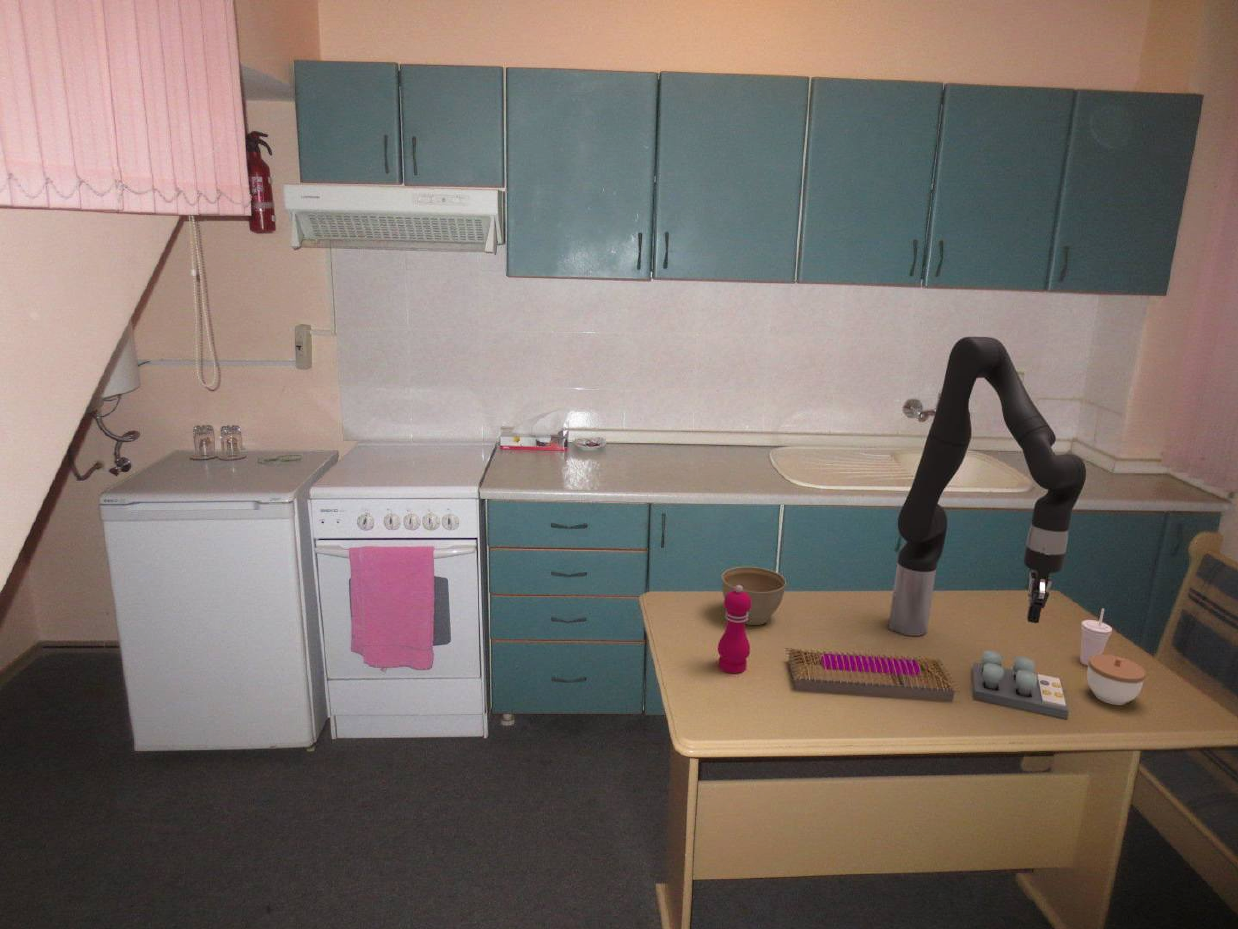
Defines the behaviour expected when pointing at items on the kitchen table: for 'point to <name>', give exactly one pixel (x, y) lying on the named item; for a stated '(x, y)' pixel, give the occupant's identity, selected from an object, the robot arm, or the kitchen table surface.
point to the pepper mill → (735, 632)
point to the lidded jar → (1114, 678)
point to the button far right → (1023, 664)
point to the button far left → (991, 658)
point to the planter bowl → (756, 590)
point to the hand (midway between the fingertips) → (1032, 621)
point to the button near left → (992, 675)
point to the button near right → (1025, 682)
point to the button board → (1041, 699)
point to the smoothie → (1093, 638)
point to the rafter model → (871, 665)
